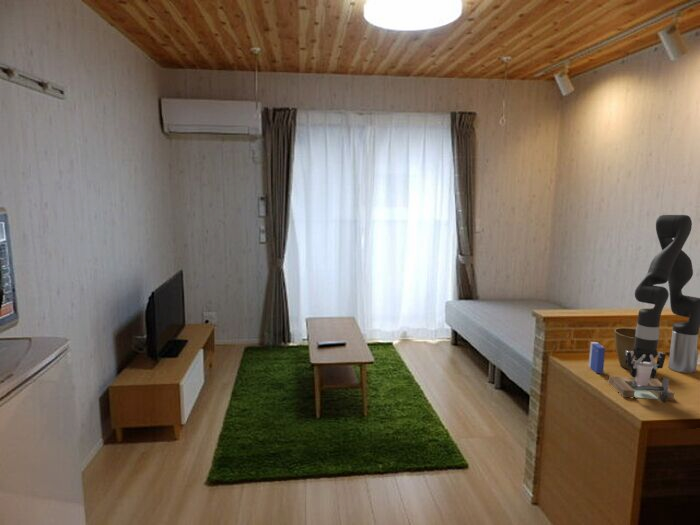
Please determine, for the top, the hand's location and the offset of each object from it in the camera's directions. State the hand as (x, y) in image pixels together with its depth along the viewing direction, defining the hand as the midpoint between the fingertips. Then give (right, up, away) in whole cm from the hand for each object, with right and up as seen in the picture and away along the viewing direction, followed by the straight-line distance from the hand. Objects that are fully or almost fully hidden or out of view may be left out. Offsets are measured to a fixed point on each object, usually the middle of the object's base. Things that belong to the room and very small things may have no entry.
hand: (642, 377), depth 178 cm
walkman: (-5, -3, +24) cm, 25 cm away
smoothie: (0, -4, +1) cm, 4 cm away
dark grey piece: (-1, -8, -5) cm, 9 cm away
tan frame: (+1, -6, +3) cm, 7 cm away
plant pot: (+12, -3, +28) cm, 31 cm away
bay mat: (0, -7, +1) cm, 7 cm away
